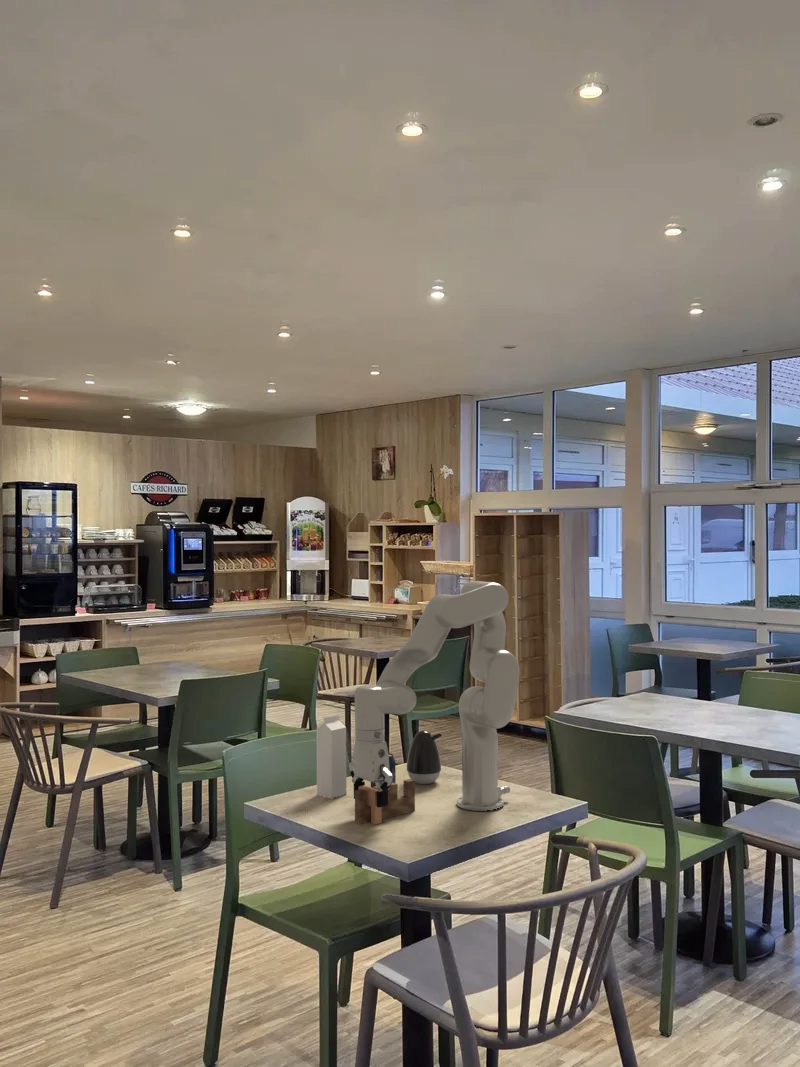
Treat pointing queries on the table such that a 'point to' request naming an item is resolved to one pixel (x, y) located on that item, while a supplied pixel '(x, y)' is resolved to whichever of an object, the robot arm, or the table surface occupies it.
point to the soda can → (392, 770)
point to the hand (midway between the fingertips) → (370, 802)
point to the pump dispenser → (424, 758)
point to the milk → (331, 758)
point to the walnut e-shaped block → (394, 802)
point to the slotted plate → (373, 804)
